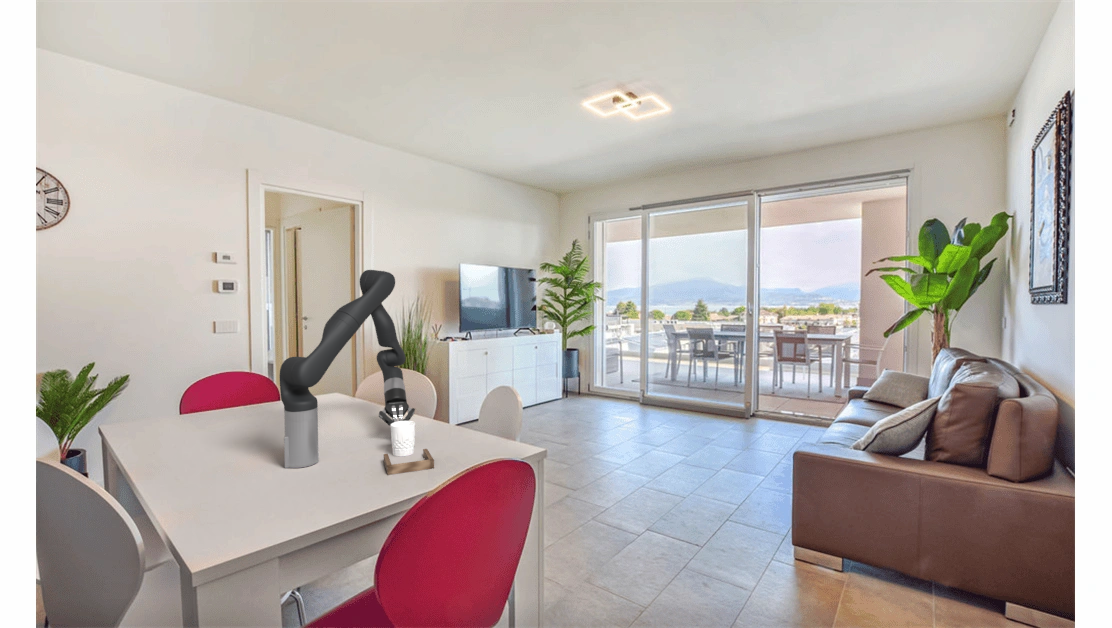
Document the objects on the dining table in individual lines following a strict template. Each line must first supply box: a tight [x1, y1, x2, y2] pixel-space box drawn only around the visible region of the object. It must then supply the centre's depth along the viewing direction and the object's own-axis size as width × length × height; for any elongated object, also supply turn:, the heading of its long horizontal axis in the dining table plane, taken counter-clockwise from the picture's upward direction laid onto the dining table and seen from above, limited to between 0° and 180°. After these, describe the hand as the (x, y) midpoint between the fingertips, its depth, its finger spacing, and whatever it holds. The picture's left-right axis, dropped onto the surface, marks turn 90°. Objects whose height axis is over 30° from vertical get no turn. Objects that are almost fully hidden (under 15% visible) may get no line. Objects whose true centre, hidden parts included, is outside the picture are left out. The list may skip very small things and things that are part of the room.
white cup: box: [389, 420, 416, 457], centre depth 164 cm, size 8×8×10 cm
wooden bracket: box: [383, 448, 435, 476], centre depth 153 cm, size 13×12×2 cm
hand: (399, 434), depth 173 cm, fingers closed
